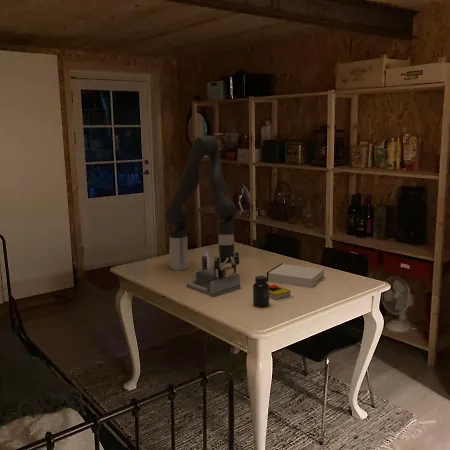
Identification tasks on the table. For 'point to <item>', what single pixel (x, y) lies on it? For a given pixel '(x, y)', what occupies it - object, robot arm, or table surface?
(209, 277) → the jaw
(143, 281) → the table surface
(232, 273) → the maple block
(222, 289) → the press
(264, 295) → the supplement bottle
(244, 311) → the table surface
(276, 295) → the emergency button
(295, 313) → the table surface
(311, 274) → the disc drive
